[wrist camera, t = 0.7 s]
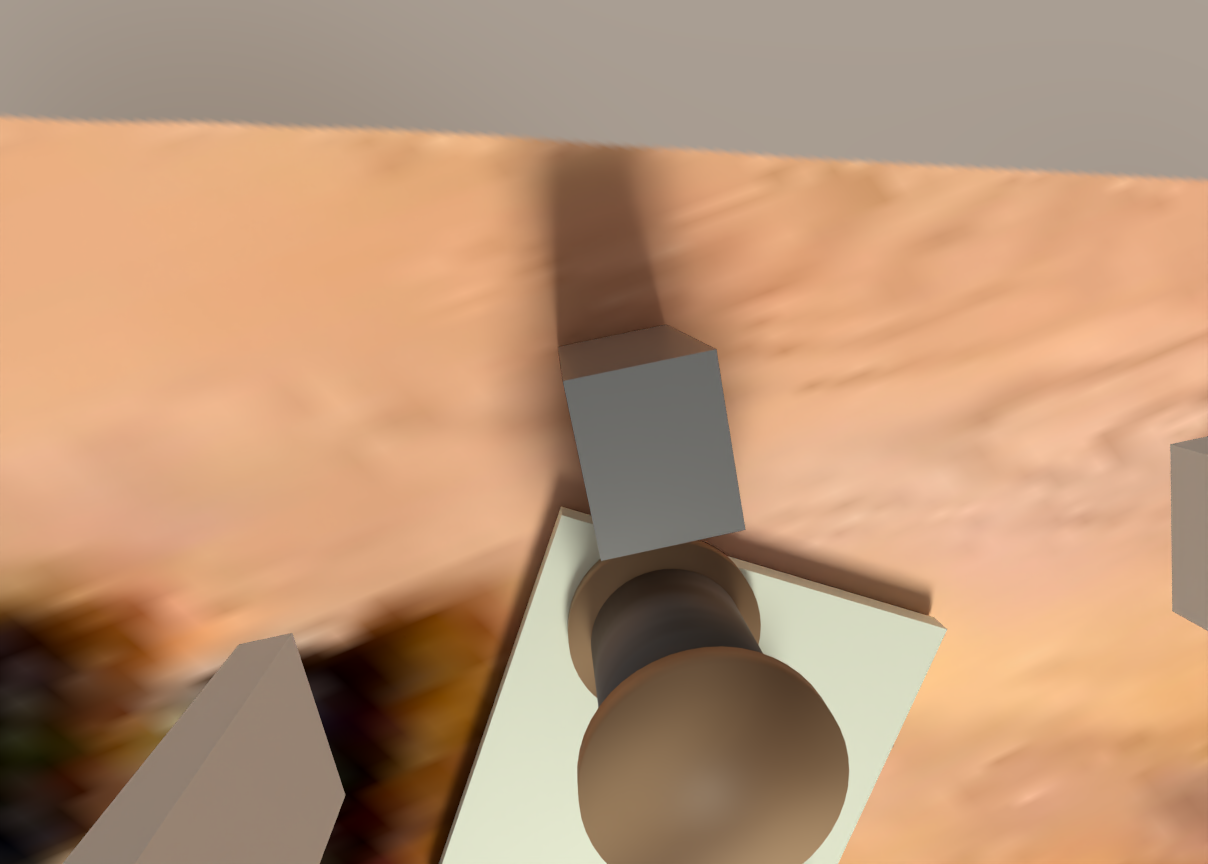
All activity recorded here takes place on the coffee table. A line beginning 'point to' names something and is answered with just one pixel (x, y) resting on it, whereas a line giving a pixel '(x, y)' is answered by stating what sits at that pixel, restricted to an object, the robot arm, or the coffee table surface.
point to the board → (565, 706)
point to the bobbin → (696, 719)
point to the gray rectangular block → (651, 439)
